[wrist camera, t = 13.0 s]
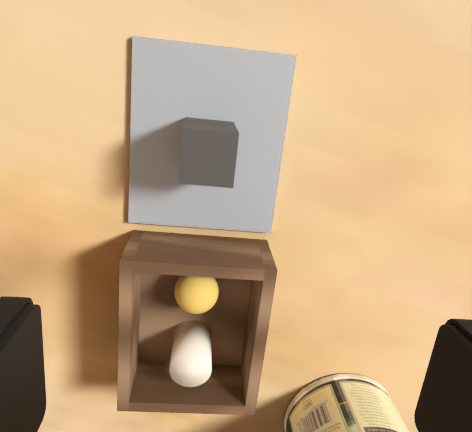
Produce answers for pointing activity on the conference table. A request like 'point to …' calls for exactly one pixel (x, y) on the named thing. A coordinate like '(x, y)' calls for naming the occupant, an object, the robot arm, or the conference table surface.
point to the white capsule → (191, 354)
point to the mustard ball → (196, 293)
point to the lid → (206, 134)
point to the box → (171, 315)
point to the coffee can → (343, 407)
